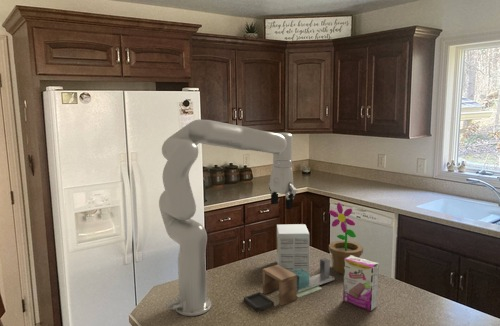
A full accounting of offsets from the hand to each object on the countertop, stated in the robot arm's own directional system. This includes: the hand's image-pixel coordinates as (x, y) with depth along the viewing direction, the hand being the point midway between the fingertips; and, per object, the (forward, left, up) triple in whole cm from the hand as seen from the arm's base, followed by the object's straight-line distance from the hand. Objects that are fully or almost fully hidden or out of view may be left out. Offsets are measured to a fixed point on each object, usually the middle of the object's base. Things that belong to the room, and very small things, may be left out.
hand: (281, 206), depth 160 cm
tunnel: (-10, -12, -30) cm, 34 cm away
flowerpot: (+28, -9, -31) cm, 42 cm away
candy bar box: (+10, -33, -31) cm, 46 cm away
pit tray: (-20, -12, -30) cm, 38 cm away
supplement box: (+11, +6, -31) cm, 33 cm away
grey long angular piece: (+5, -12, -30) cm, 33 cm away
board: (+1, -12, -30) cm, 33 cm away
